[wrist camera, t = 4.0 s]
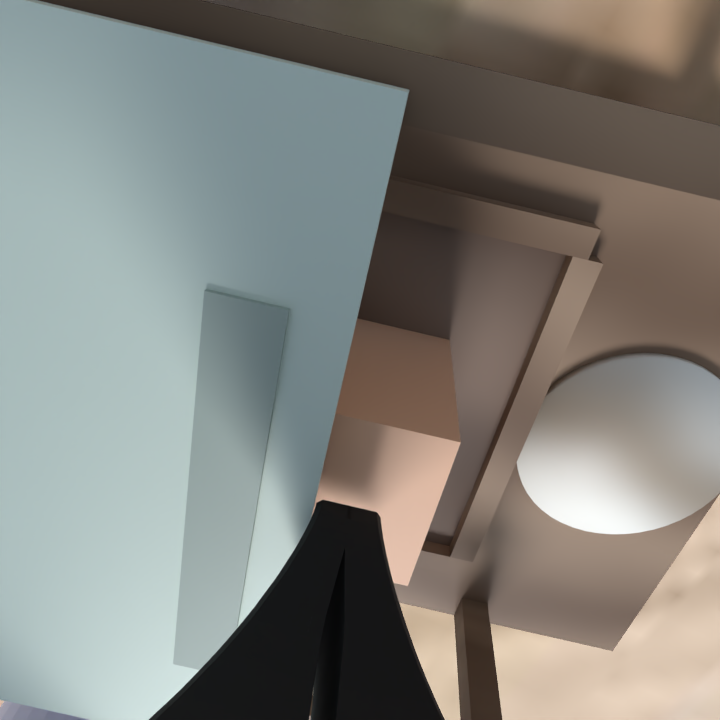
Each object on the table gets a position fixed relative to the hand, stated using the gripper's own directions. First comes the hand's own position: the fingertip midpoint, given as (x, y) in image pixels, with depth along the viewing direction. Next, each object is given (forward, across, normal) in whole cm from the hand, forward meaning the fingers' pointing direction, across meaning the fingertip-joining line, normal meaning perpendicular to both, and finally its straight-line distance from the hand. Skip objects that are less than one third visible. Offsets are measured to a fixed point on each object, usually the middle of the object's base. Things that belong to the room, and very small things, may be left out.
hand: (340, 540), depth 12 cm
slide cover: (+1, +6, 0) cm, 6 cm away
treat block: (+6, 0, 0) cm, 6 cm away
